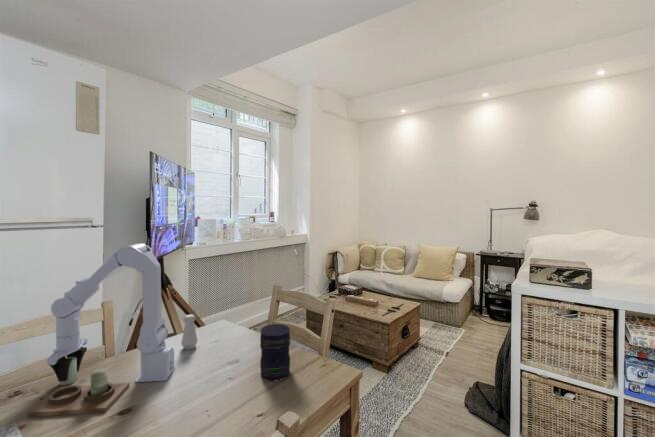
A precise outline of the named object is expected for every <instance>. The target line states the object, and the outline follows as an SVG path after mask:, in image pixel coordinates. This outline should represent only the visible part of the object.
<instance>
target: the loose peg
mask: <svg viewBox="0 0 655 437" xmlns="http://www.w3.org/2000/svg"><path fill="white" fill-rule="evenodd" d="M66 358H67V357H66ZM67 359H72V361H71V363H70V366H69V372H68V379H67V380H66V381H59V384H60V385H61V386H70V385H71V384H74V383H75V382H77V381H78V372H77V358H76V357H69V358H67Z"/></svg>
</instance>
